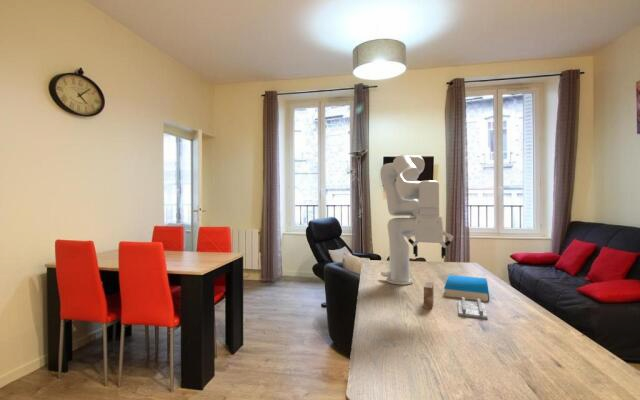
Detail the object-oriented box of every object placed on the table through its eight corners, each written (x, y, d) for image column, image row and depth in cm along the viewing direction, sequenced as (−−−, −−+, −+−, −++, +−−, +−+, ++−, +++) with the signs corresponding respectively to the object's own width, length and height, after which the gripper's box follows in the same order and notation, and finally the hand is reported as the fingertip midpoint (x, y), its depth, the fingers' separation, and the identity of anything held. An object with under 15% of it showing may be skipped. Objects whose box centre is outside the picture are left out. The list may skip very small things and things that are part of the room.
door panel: (423, 308, 120) (423, 287, 120) (425, 301, 127) (425, 281, 127) (432, 309, 118) (432, 287, 118) (433, 302, 126) (433, 282, 126)
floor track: (487, 319, 108) (487, 312, 108) (458, 315, 112) (458, 308, 112) (483, 305, 122) (483, 299, 122) (458, 302, 126) (458, 296, 126)
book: (444, 287, 134) (448, 274, 157) (444, 297, 134) (448, 282, 157) (490, 292, 127) (487, 277, 150) (490, 303, 127) (487, 286, 150)
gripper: (404, 212, 123) (404, 257, 122) (453, 213, 116) (453, 260, 116) (407, 212, 129) (407, 254, 129) (453, 212, 123) (453, 256, 123)
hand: (429, 257), depth 123 cm, fingers open, 9 cm apart
